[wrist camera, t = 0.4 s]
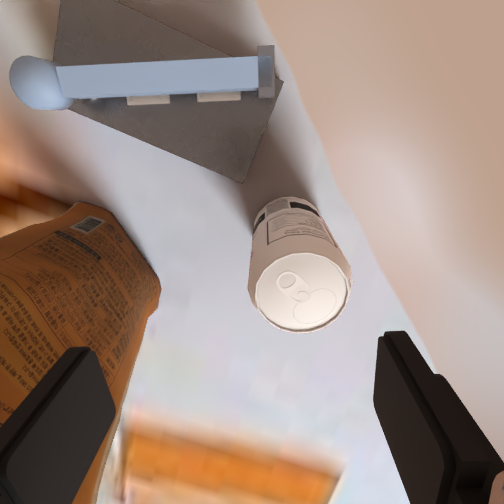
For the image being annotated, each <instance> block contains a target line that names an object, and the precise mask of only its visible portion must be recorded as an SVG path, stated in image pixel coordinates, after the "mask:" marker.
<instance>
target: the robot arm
mask: <svg viewBox="0 0 504 504" xmlns="http://www.w3.org/2000/svg"><path fill="white" fill-rule="evenodd" d="M373 402H374V407H375V411H376V414H377V416H378V419H379V422H380V424H381V427H382V430H383V432H384V435H385V438H386V440H387V443H388V445H389V448H390V451H391V453H392V456H393V459H394V461H395V464H396V467H397V469H398V472H399V475H400V477H401V480H402V483H403V485H404V488H405V491H406V493H407V496H408V499H409V501H410V504H504V463H503V461H502V460H501V458H500V457H499V455H498V454H497V452H496V451H495V449H494V448H493V446H492V445H491V443H490V442H489V441H488V439H487V438H486V436H485V435H484V433H483V432H482V430H481V429H480V428H479V426H478V425H477V423H476V422H475V420H474V419H473V418H472V416H471V415H470V413H469V412H468V410H467V409H466V407H465V406H464V404H463V403H462V402H461V400H460V399H459V397H458V396H457V394H456V393H455V392H454V390H453V389H452V387H451V386H450V384H449V383H448V381H447V380H446V379H445V378H444V377H443V376H442V375H440V374H434V373H433V372H432V370H431V369H430V367H429V366H428V364H427V363H426V361H425V360H424V358H423V357H422V355H421V354H420V352H419V351H418V349H417V348H416V346H415V345H414V343H413V342H412V340H411V338H410V337H409V335H408V334H407V333H406V332H405V331H387V332H385V333H384V336H381V337H379V338H378V348H377V360H376V372H375V383H374V395H373ZM115 415H116V407H115V404H114V401H113V398H112V396H111V393H110V390H109V387H108V385H107V382H106V379H105V377H104V374H103V371H102V368H101V366H100V363H99V360H98V358H97V355H96V353H95V351H92V350H91V348H90V347H87V346H83V347H70V348H68V349H67V350H66V351H65V352H64V353H63V355H62V356H61V357H60V358H59V359H58V360H57V362H56V363H55V364H54V365H53V366H52V367H51V369H50V370H49V371H48V372H47V373H46V374H45V376H44V377H43V378H42V379H41V380H40V381H39V383H38V384H37V385H36V386H35V387H34V388H33V390H32V391H31V392H30V393H29V394H28V395H27V397H26V398H25V399H24V400H23V401H22V402H21V404H20V405H19V406H18V407H17V408H16V409H15V411H14V412H13V413H12V414H11V415H10V416H9V418H8V419H7V420H6V421H5V422H4V424H3V425H2V426H1V427H0V504H72V502H73V500H74V498H75V496H76V494H77V492H78V490H79V488H80V486H81V484H82V482H83V480H84V478H85V476H86V474H87V472H88V470H89V468H90V466H91V464H92V462H93V460H94V458H95V456H96V454H97V452H98V450H99V448H100V446H101V444H102V442H103V440H104V438H105V436H106V434H107V432H108V430H109V428H110V426H111V424H112V422H113V420H114V418H115Z"/></svg>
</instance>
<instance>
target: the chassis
mask: <svg viewBox="0 0 504 504" xmlns="http://www.w3.org/2000/svg"><path fill="white" fill-rule="evenodd" d="M230 57H232V56H230V55H228V54H226V53H223V52H221V51H219V50H217V49H215V48H213V47H211V46H209V45H207V44H205V43H203V42H200V41H198V40H196V39H194V38H192V37H190V36H188V35H186V34H184V33H182V32H180V31H178V30H175V29H173V28H171V27H169V26H167V25H165V24H163V23H161V22H159V21H157V20H155V19H152V18H150V17H148V16H146V15H144V14H142V13H140V12H138V11H136V10H134V9H132V8H129V7H127V6H125V5H123V4H121V3H119V2H117V1H115V0H61V4H60V11H59V19H58V26H57V34H56V42H55V49H54V57H53V62H55V63H58V64H60V65H61V66H80V65H99V64H118V63H137V62H155V61H174V60H193V59H212V58H230ZM283 83H284V81H282V80H280V79H278V78H276V77H275V96H274V98H259V90H253V91H232V92H211V93H190V94H169V95H148V96H127V97H106V98H86V99H78V98H75V100H74V102H73V104H72V105H71V106H70V107H69V108H67V109H69V110H71V111H74V112H76V113H78V114H81V115H83V116H85V117H88V118H90V119H93V120H95V121H97V122H100V123H102V124H104V125H107V126H109V127H111V128H114V129H116V130H118V131H121V132H123V133H125V134H128V135H130V136H132V137H135V138H137V139H139V140H142V141H144V142H146V143H149V144H151V145H153V146H156V147H158V148H161V149H163V150H165V151H168V152H170V153H172V154H175V155H177V156H179V157H182V158H184V159H186V160H189V161H191V162H193V163H196V164H198V165H200V166H203V167H205V168H207V169H210V170H212V171H214V172H217V173H219V174H221V175H224V176H226V177H229V178H231V179H233V180H236V181H238V182H240V183H243V182H244V179H245V177H246V174H247V172H248V169H249V167H250V164H251V162H252V159H253V157H254V155H255V152H256V150H257V147H258V145H259V142H260V140H261V137H262V135H263V132H264V130H265V127H266V125H267V122H268V120H269V117H270V115H271V113H272V110H273V108H274V105H275V103H276V100H277V98H278V95H279V93H280V90H281V88H282V85H283Z"/></svg>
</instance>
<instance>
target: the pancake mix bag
mask: <svg viewBox="0 0 504 504" xmlns="http://www.w3.org/2000/svg"><path fill="white" fill-rule="evenodd" d="M160 293H161V286H160V281H159V278H158V277H157V275H156V274H155V273H154V271H153V270H152V269H151V267H150V266H149V264H148V263H147V262H146V260H145V259H144V257H143V256H142V255H141V253H140V252H139V250H138V249H137V248H136V247H135V245H134V244H133V243H132V241H131V240H130V238H129V237H128V236H127V234H126V233H125V232H124V230H123V228H122V227H121V225H120V224H119V222H118V221H117V219H116V218H115V217H114V215H113V214H112V213H111V212H109V211H107V210H105V209H104V208H102V207H99V206H95V205H92V204H88V203H82V202H76V203H75V204H74V205H73V206H72V207H71V208H70V209H69V210H68V211H66V212H65V213H64V214H62V215H61V216H59V217H57V218H55V219H53V220H51V221H47V222H44V223H40V224H34V225H30V226H28V227H26V228H23V229H21V230H18V231H16V232H13V233H11V234H9V235H6V236H4V237H1V238H0V427H1V426H2V425H3V424H4V422H5V421H6V420H7V419H8V418H9V416H10V415H11V414H12V413H13V412H14V411H15V409H16V408H17V407H18V406H19V405H20V404H21V402H22V401H23V400H24V399H25V398H26V397H27V395H28V394H29V393H30V392H31V391H32V390H33V388H34V387H35V386H36V385H37V384H38V383H39V381H40V380H41V379H42V378H43V377H44V376H45V374H46V373H47V372H48V371H49V370H50V369H51V367H52V366H53V365H54V364H55V363H56V362H57V360H58V359H59V358H60V357H61V356H62V355H63V353H64V352H65V351H66V350H67V349H68V348H70V347H83V346H87V347H90V348H91V350H92V351H95V353H96V355H97V358H98V360H99V363H100V366H101V368H102V371H103V374H104V377H105V379H106V382H107V385H108V387H109V390H110V393H111V396H112V398H113V401H114V404H115V407H116V415H115V418H114V420H113V422H112V424H111V426H110V428H109V430H108V432H107V434H106V436H105V438H104V440H103V442H102V444H101V446H100V448H99V450H98V452H97V454H96V456H95V458H94V460H93V462H92V464H91V466H90V468H89V470H88V472H87V474H86V476H85V478H84V480H83V482H82V484H81V486H80V488H79V490H78V492H77V494H76V496H75V498H74V500H73V502H72V504H96V501H97V496H98V490H99V486H100V482H101V479H102V475H103V471H104V468H105V464H106V461H107V458H108V454H109V451H110V448H111V445H112V442H113V439H114V436H115V433H116V430H117V427H118V424H119V421H120V416H121V410H122V405H123V402H124V399H125V396H126V394H127V390H128V386H129V382H130V379H131V375H132V372H133V368H134V365H135V361H136V358H137V355H138V352H139V350H140V347H141V343H142V340H143V336H144V331H145V327H146V323H147V319H148V317H149V316H150V315H151V314H152V313H154V311H155V310H156V309H157V308H158V302H159V297H160Z"/></svg>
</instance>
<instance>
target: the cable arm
mask: <svg viewBox="0 0 504 504" xmlns="http://www.w3.org/2000/svg"><path fill="white" fill-rule="evenodd" d="M257 52H258V56H249V57H230V58H212V59H193V60H174V61H155V62H137V63H118V64H99V65H80V66H61V65H60V64H58V63H55V62H52V61H48V60H44V59H41V58H37V57H33V56H21V57H19V58H17V59H16V60H15V61H14V62H13V64H12V65H11V68H10V73H9V78H10V83H11V86H12V89H13V91H14V93H15V94H16V96H17V97H18V98H19V99H20V100H21V101H22V102H23V103H24V104H25V105H27V106H29V107H31V108H34V109H38V110H64V109H67V108H69V107H70V106H71V105H72V104H73V102H74V100H75V98H78V99H86V98H106V97H127V96H148V95H169V94H190V93H211V92H232V91H253V90H259V98H274V96H275V68H274V45H270V46H257Z"/></svg>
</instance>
